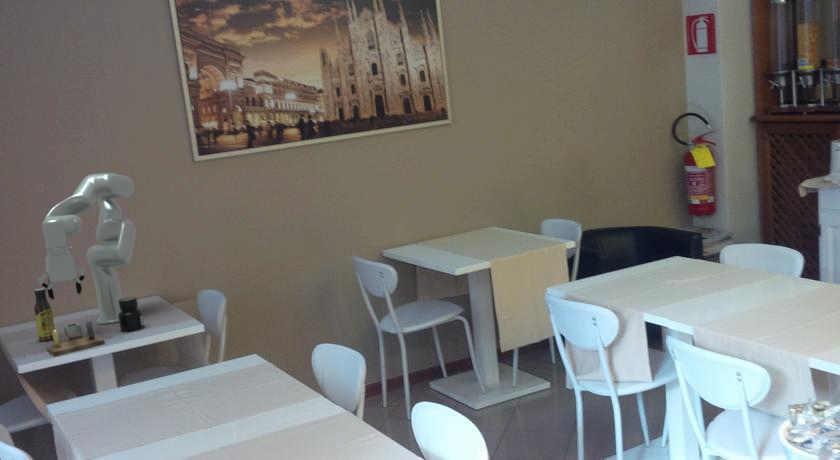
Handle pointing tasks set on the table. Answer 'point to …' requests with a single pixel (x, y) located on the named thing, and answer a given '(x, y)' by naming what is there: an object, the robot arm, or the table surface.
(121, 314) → the ink bottle
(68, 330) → the sleeve
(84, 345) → the pin board
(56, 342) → the brass pin
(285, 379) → the table surface
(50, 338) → the sauce bottle
